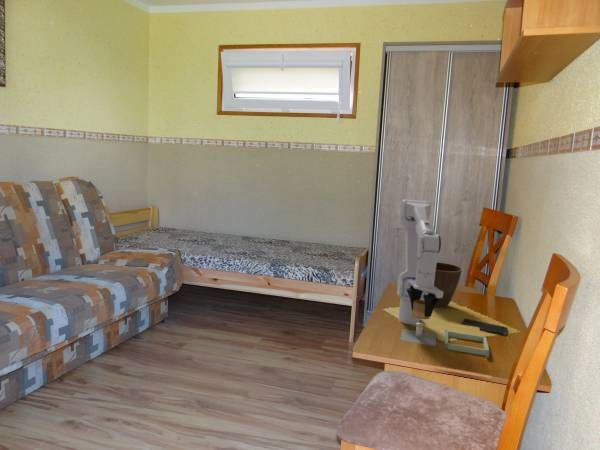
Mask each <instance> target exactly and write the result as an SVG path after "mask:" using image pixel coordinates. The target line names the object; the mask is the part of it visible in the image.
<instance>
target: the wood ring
mask: <svg viewBox="0 0 600 450" xmlns="http://www.w3.org/2000/svg"><path fill="white" fill-rule="evenodd" d="M412 316H413V317H415V318H418V319H419V320H430V317H431V316H430V317H425V301H424V299H423V300H414V304H413V313H412Z"/></svg>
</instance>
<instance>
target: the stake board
mask: <svg viewBox="0 0 600 450" xmlns="http://www.w3.org/2000/svg"><path fill="white" fill-rule="evenodd" d="M415 326H416V328H415V330H412V329H406V328H402V330H401V334H400V338H399V341H402V342H408V343H412V344H413V343H415V344H419V345H426V346H432V347H437V334H436V333H431V332H424V331H423V330H424V326H425V324H424V323H422V322H419V323H416V324H415Z"/></svg>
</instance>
